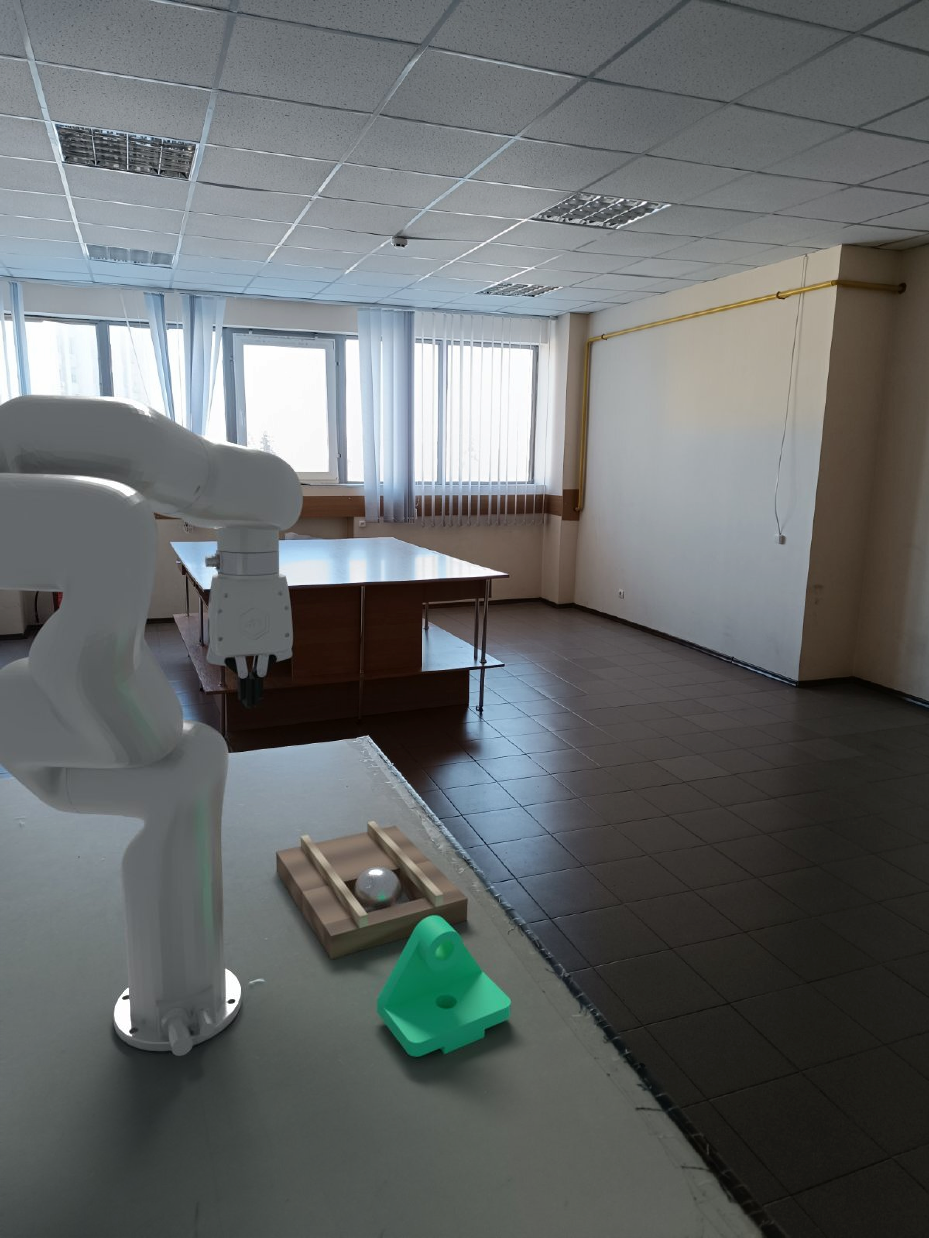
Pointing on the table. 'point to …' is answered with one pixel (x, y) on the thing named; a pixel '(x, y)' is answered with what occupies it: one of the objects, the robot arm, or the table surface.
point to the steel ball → (377, 889)
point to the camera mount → (439, 993)
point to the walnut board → (329, 880)
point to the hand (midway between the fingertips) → (250, 704)
